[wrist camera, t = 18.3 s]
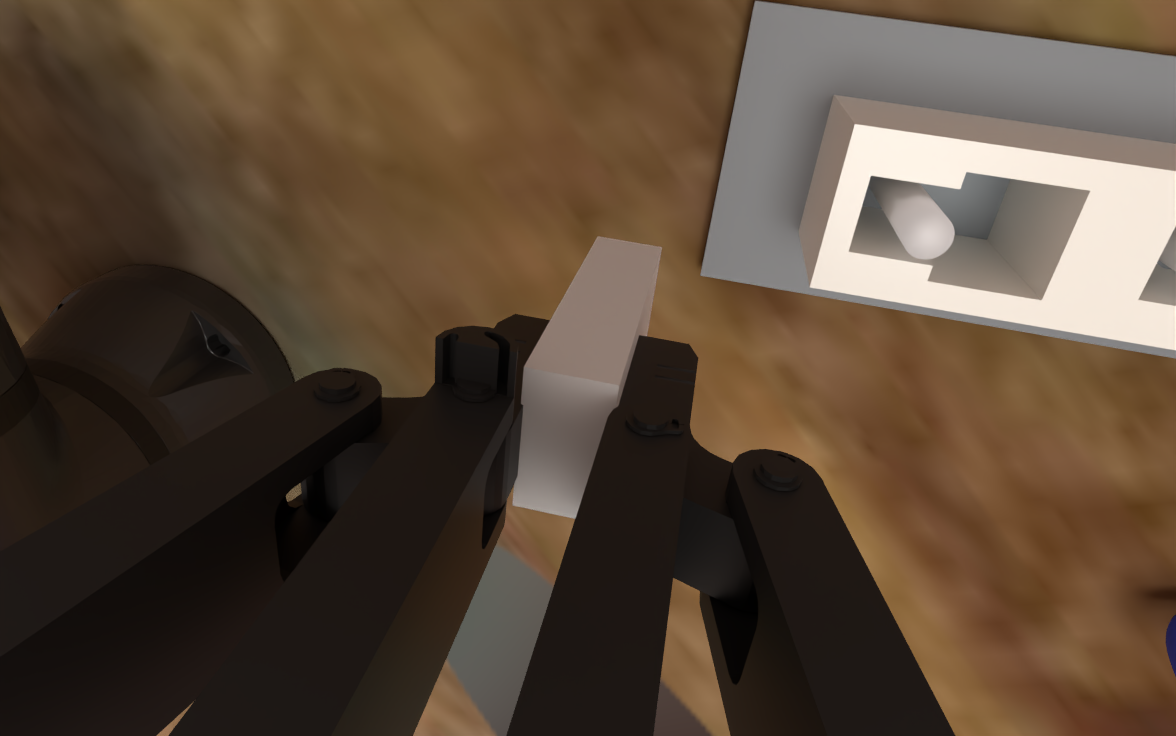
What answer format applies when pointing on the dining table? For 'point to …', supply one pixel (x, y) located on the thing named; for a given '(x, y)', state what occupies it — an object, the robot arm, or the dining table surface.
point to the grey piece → (916, 78)
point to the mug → (1171, 642)
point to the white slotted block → (1001, 220)
